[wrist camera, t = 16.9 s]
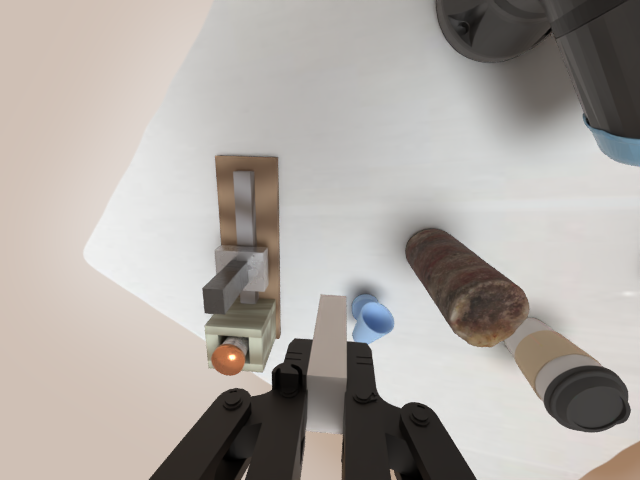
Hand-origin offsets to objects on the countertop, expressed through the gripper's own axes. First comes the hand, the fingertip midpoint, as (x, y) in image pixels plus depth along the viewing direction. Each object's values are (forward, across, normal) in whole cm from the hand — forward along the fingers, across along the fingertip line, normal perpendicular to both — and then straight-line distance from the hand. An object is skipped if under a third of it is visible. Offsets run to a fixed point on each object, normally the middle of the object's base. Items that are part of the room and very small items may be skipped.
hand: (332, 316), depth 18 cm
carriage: (+26, -14, -8) cm, 30 cm away
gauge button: (+25, -14, -18) cm, 34 cm away
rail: (+29, -14, -7) cm, 33 cm away
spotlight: (+30, +5, -15) cm, 34 cm away
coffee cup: (+30, +31, -19) cm, 47 cm away
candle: (+30, +14, -5) cm, 33 cm away
